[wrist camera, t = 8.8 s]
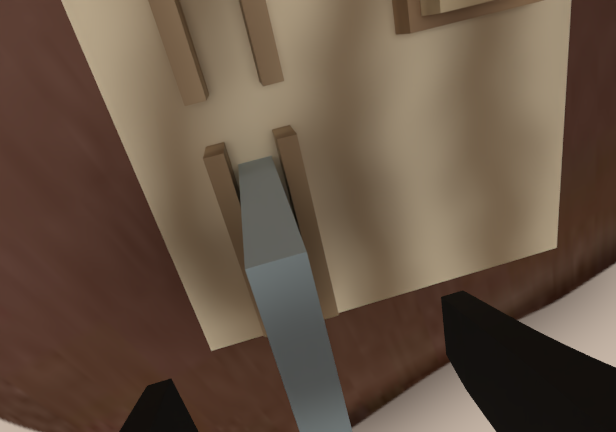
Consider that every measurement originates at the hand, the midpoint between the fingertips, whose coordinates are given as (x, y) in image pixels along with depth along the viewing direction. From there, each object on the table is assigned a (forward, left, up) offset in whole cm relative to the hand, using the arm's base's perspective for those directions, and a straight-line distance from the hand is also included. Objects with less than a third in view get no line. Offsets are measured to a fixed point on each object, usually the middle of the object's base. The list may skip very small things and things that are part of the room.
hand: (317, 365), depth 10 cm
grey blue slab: (0, 0, -9) cm, 9 cm away
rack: (-5, -5, -10) cm, 12 cm away
